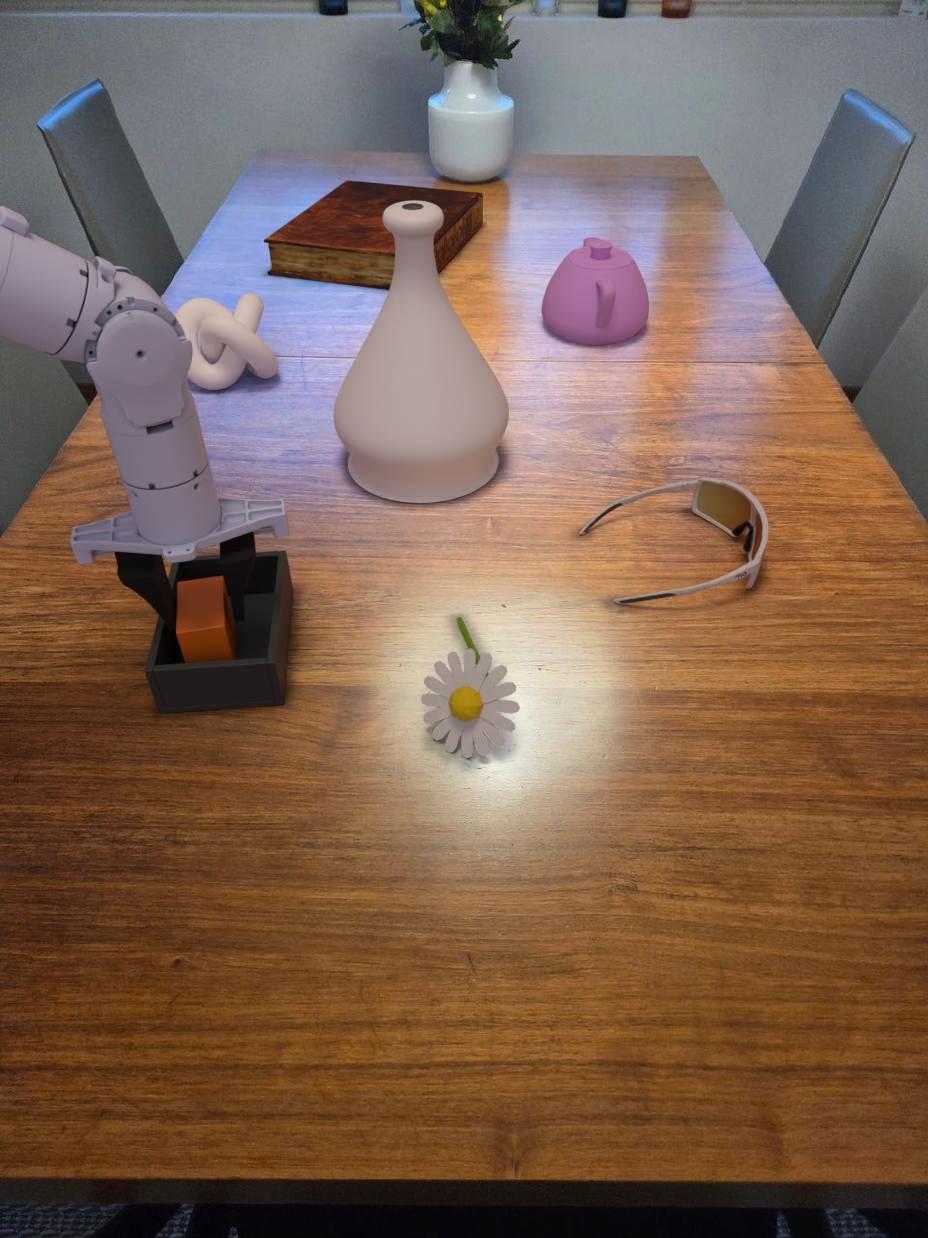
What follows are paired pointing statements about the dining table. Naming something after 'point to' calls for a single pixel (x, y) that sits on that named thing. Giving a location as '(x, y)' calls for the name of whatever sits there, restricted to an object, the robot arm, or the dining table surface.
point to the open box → (257, 644)
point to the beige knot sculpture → (225, 341)
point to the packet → (205, 621)
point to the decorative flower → (469, 701)
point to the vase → (419, 383)
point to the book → (365, 233)
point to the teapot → (596, 295)
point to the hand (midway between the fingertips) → (207, 617)
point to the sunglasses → (723, 509)
